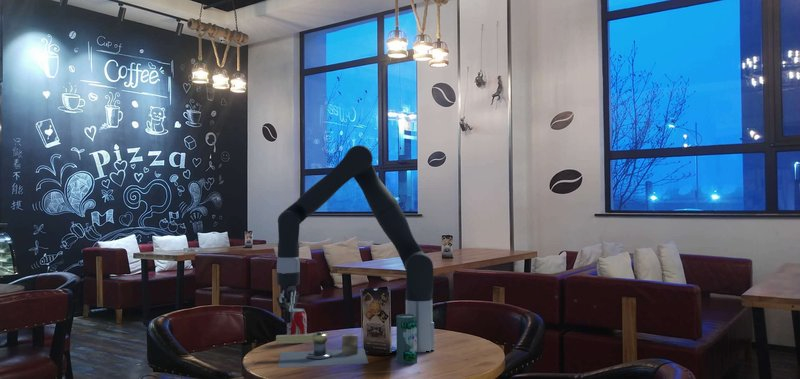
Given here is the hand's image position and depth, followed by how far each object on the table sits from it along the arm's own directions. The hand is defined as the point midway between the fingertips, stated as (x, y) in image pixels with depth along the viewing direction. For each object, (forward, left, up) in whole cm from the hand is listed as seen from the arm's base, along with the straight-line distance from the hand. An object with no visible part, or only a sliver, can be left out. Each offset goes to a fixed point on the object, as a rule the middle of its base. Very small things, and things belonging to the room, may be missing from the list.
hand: (288, 322), depth 204 cm
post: (-10, +4, -11) cm, 15 cm away
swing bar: (-5, +4, -6) cm, 8 cm away
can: (-37, +16, -11) cm, 42 cm away
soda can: (-2, -19, -11) cm, 22 cm away
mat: (-11, +6, -11) cm, 17 cm away
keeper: (-20, +2, -11) cm, 23 cm away
